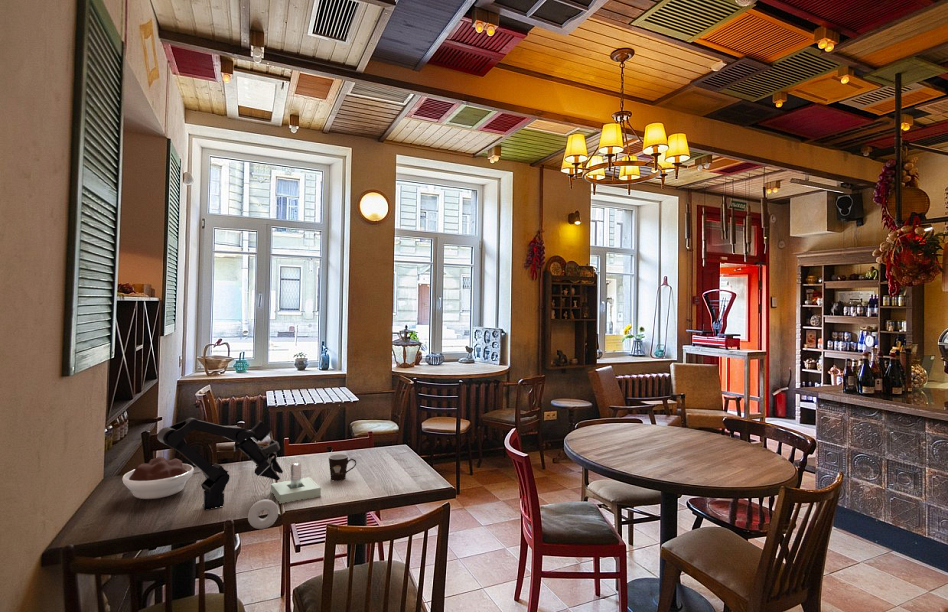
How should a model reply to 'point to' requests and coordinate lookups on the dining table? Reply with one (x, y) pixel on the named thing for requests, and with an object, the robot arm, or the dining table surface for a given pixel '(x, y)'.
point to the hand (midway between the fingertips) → (280, 476)
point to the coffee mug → (339, 466)
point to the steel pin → (295, 475)
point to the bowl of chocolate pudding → (158, 478)
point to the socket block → (295, 490)
